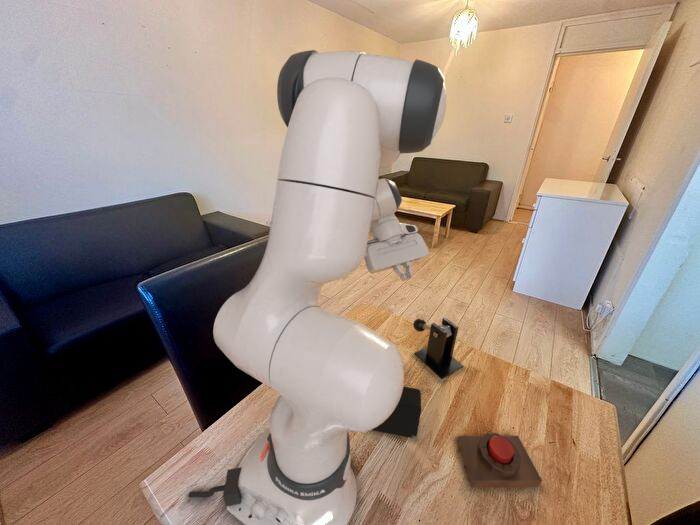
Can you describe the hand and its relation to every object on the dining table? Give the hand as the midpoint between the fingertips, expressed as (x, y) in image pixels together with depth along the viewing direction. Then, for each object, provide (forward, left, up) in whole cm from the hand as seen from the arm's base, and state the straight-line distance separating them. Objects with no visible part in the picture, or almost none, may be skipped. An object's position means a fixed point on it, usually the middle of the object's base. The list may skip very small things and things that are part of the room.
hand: (407, 279), depth 80 cm
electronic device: (+2, -31, -19) cm, 36 cm away
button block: (+22, -33, -19) cm, 44 cm away
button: (+22, -33, -15) cm, 42 cm away
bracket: (+11, -10, -19) cm, 24 cm away
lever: (+8, -8, -11) cm, 16 cm away
